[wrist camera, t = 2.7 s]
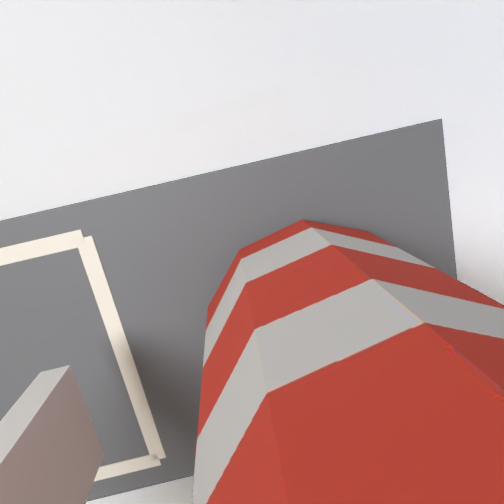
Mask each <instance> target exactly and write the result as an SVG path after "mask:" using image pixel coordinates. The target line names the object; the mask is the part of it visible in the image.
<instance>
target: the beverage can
mask: <svg viewBox="0 0 504 504" xmlns="http://www.w3.org/2000/svg"><path fill="white" fill-rule="evenodd" d="M192 504H504V305H502V304H500V303H498V302H497V301H495V300H493V299H491V298H489V297H487V296H486V295H484V294H482V293H480V292H478V291H476V290H475V289H473V288H471V287H469V286H467V285H465V284H464V283H462V282H460V281H458V280H456V279H454V278H453V277H451V276H449V275H447V274H445V273H443V272H442V271H440V270H438V269H436V268H434V267H432V266H431V265H429V264H427V263H425V262H423V261H421V260H420V259H418V258H416V257H414V256H412V255H410V254H409V253H407V252H405V251H403V250H401V249H399V248H398V247H396V246H394V245H392V244H390V243H388V242H387V241H385V240H383V239H381V238H379V237H377V236H376V235H374V234H372V233H370V232H368V231H364V230H359V229H353V228H347V227H342V226H336V225H330V224H325V223H319V222H313V221H308V220H300V221H298V222H296V223H293V224H291V225H289V226H287V227H285V228H283V229H281V230H279V231H277V232H275V233H273V234H271V235H268V236H266V237H264V238H262V239H260V240H258V241H256V242H254V243H252V244H250V245H248V246H246V247H244V248H241V249H239V251H238V253H237V255H236V257H235V258H234V260H233V262H232V264H231V266H230V267H229V269H228V271H227V273H226V275H225V277H224V278H223V280H222V282H221V284H220V286H219V288H218V289H217V291H216V293H215V295H214V297H213V298H212V300H211V302H210V304H209V306H208V310H207V322H206V335H205V347H204V359H203V371H202V383H201V396H200V408H199V420H198V432H197V445H196V457H195V469H194V481H193V493H192Z"/></svg>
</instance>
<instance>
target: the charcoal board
mask: <svg viewBox="0 0 504 504" xmlns="http://www.w3.org/2000/svg"><path fill="white" fill-rule="evenodd" d="M300 220H308V221H313V222H319V223H325V224H330V225H336V226H342V227H347V228H353V229H359V230H364V231H368V232H370V233H372V234H374V235H376V236H377V237H379V238H381V239H383V240H385V241H387V242H388V243H390V244H392V245H394V246H396V247H398V248H399V249H401V250H403V251H405V252H407V253H409V254H410V255H412V256H414V257H416V258H418V259H420V260H421V261H423V262H425V263H427V264H429V265H431V266H432V267H434V268H436V269H438V270H440V271H442V272H443V273H445V274H447V275H449V276H451V277H453V278H454V279H456V280H457V274H456V263H455V253H454V242H453V232H452V221H451V211H450V200H449V190H448V179H447V169H446V158H445V147H444V137H443V126H442V119H438V120H433V121H429V122H425V123H420V124H416V125H412V126H408V127H403V128H399V129H395V130H390V131H386V132H382V133H377V134H373V135H369V136H364V137H360V138H356V139H351V140H347V141H343V142H339V143H334V144H330V145H326V146H321V147H317V148H313V149H308V150H304V151H300V152H295V153H291V154H287V155H282V156H278V157H274V158H269V159H265V160H261V161H257V162H252V163H248V164H244V165H239V166H235V167H231V168H226V169H222V170H218V171H213V172H209V173H205V174H200V175H196V176H192V177H187V178H183V179H179V180H175V181H170V182H166V183H162V184H157V185H153V186H149V187H144V188H140V189H136V190H131V191H127V192H123V193H118V194H114V195H110V196H106V197H101V198H97V199H93V200H88V201H84V202H80V203H75V204H71V205H67V206H62V207H58V208H54V209H49V210H45V211H41V212H36V213H32V214H28V215H24V216H19V217H15V218H11V219H6V220H2V221H0V421H1V420H2V419H3V417H4V416H5V415H6V414H7V412H8V411H9V410H10V409H11V407H12V406H13V405H14V404H15V403H16V401H17V400H18V399H19V398H20V396H21V395H22V394H23V393H24V392H25V390H26V389H27V388H28V387H29V385H30V384H31V383H32V382H33V380H34V379H35V378H36V377H37V376H38V374H39V373H40V372H43V371H47V370H51V369H55V368H60V367H64V366H68V365H70V366H71V368H72V371H73V374H74V376H75V379H76V381H77V384H78V387H79V389H80V392H81V395H82V397H83V400H84V402H85V405H86V408H87V410H88V413H89V416H90V418H91V421H92V423H93V426H94V429H95V431H96V434H97V436H98V439H99V442H100V444H101V447H102V450H103V452H104V456H103V459H102V461H101V464H100V466H99V469H98V472H97V474H96V477H95V479H94V482H93V485H92V487H91V490H90V493H89V495H88V498H87V500H86V502H87V501H91V500H95V499H99V498H103V497H107V496H111V495H115V494H119V493H123V492H127V491H131V490H136V489H140V488H144V487H148V486H152V485H156V484H160V483H164V482H168V481H172V480H176V479H180V478H184V477H188V476H192V475H194V469H195V457H196V445H197V432H198V420H199V408H200V396H201V383H202V371H203V359H204V347H205V335H206V322H207V310H208V306H209V304H210V302H211V300H212V298H213V297H214V295H215V293H216V291H217V289H218V288H219V286H220V284H221V282H222V280H223V278H224V277H225V275H226V273H227V271H228V269H229V267H230V266H231V264H232V262H233V260H234V258H235V257H236V255H237V253H238V251H239V249H241V248H244V247H246V246H248V245H250V244H252V243H254V242H256V241H258V240H260V239H262V238H264V237H266V236H268V235H271V234H273V233H275V232H277V231H279V230H281V229H283V228H285V227H287V226H289V225H291V224H293V223H296V222H298V221H300Z"/></svg>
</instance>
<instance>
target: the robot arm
mask: <svg viewBox="0 0 504 504" xmlns="http://www.w3.org/2000/svg"><path fill="white" fill-rule="evenodd" d="M103 456H104V452H103V450H102V447H101V444H100V442H99V439H98V436H97V434H96V431H95V429H94V426H93V423H92V421H91V418H90V416H89V413H88V410H87V408H86V405H85V402H84V400H83V397H82V395H81V392H80V389H79V387H78V384H77V381H76V379H75V376H74V374H73V371H72V368H71V366H70V365H68V366H64V367H60V368H55V369H51V370H47V371H43V372H40V373H39V374H38V376H37V377H36V378H35V379H34V380H33V382H32V383H31V384H30V385H29V387H28V388H27V389H26V390H25V392H24V393H23V394H22V395H21V396H20V398H19V399H18V400H17V401H16V403H15V404H14V405H13V406H12V407H11V409H10V410H9V411H8V412H7V414H6V415H5V416H4V417H3V419H2V420H1V421H0V504H85V503H86V500H87V498H88V495H89V493H90V490H91V487H92V485H93V482H94V479H95V477H96V474H97V472H98V469H99V466H100V464H101V461H102V459H103Z"/></svg>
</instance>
